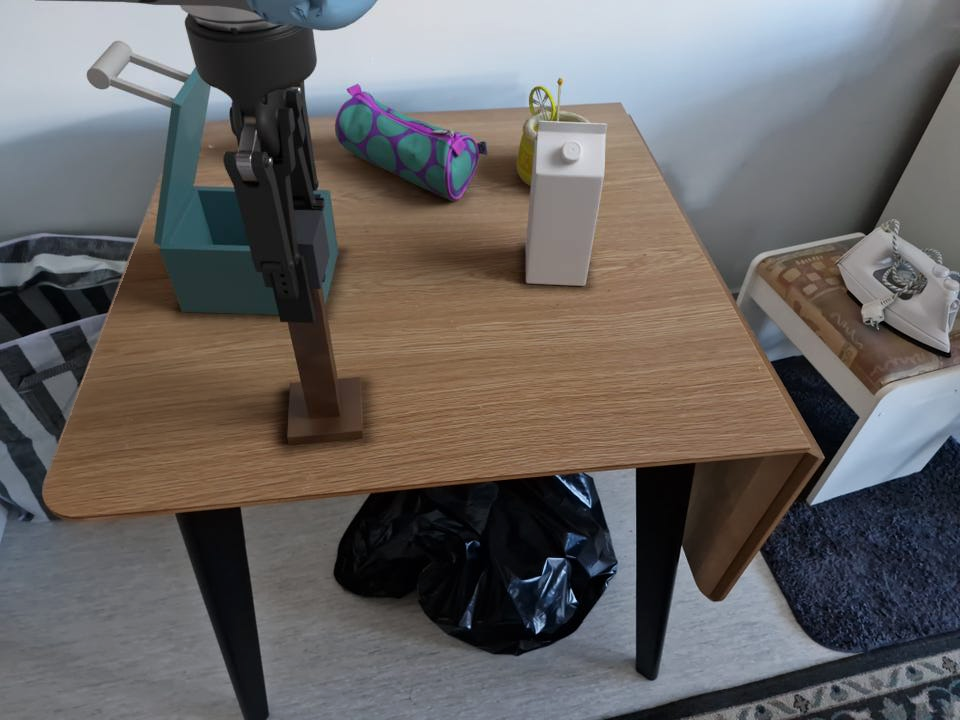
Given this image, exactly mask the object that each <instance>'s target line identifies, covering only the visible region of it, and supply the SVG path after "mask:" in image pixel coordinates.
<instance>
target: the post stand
mask: <svg viewBox="0 0 960 720" xmlns="http://www.w3.org/2000/svg"><path fill="white" fill-rule="evenodd" d="M310 290H311V295H312V301H313V306H314V311H315V321H314V323H300V322H286V323H287V327H288V331H289V335H290V341H291V344H292V345H291V346H292V350H293V353H294V358H295V362H296V367H297V371H298V375H299V379H300V381H298V382H297V381H296V382H290V383H289V392H288V393H289V394H288V395H289V396H288V413H287V414H288V415H287V431H286V439H287V442H288V445H289V446H292V445H302V444H304V445H305V444H315V443H323V442H336V441H346V440H357V439H363V438H364V420H363V395H362V394H363V393H362V392H363V391H362V380H361V376H356V377H344V378H343V377H342V378H339V377H338V371H337V365H336V359H335V352H334V347H333V343H332V336H331V330H330V324H329V320H328V313H327V312H328V311H327V306H326V305H325V300H324V294H323V288H322V287H321V289H310Z"/></svg>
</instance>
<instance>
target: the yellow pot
mask: <svg viewBox="0 0 960 720" xmlns="http://www.w3.org/2000/svg"><path fill="white" fill-rule="evenodd" d="M556 82H557V85H558V90H557V91H558V92H557V107H556V102H555V100H554V98H553V95H552V93H551V92H550V91H549V90H548V89H547V87H545V86H542V85H537V86H534V87H533V88H532V89H531V90H530V92H529V95H528V106H529V110H530V112H531V115H532V116H531V117H529V118H527V119H526V121H525V122H523V124H522V135H521V139H520V142H519V148H518V152H517V157H516V170H517V173H518V176H519V177H520V179H521V180H522V181H523V183H525V184H526V185H527V186H529V187H531V180H532V169H533V157H534V146H535V138H536V134H537V131H538V122H539V121H559V122H582V123H591V122H590V121H589V119H588V118H586V117H584V116H582V115H579V114H577V113H574V112H570V111H565V110H561V109H560V107H561V92H562V85H563V83H564V80H563V78H562V77H559V78H558V79H557V81H556ZM541 91H543V92H544V97H543V99H542V94H541ZM534 94H536V96H537V100H536V99H535V98H534ZM548 99H549V103H550V106H548V105H545V103H546V102H547V100H548ZM540 101H541V102H540ZM534 105H537V106H539V108H538V109H537V110H536V111H535V108H534ZM543 110H544V111H543Z"/></svg>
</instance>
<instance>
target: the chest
mask: <svg viewBox="0 0 960 720" xmlns="http://www.w3.org/2000/svg"><path fill="white" fill-rule="evenodd" d="M313 193H314V197H321V198H324V210H323V214H324V221H325V227H326V234H327V240H328V247H329V253H330V256H329V260H328V264H327V267H326V271H325V275H326V278H325V282H323V283H322V288H323V294H324V300H325V306H326V304H327V301H328V296H329V293H330V288H331V284H332V281H333V276H334V273H335V269H336V265H337V264H336V263H337V259H338V256H339V253H340V252H339V251H340V250H339V245H338V239H337V238H338V237H337V232H336V224H335V217H334V210H333V203H332V196H331V190H329V189H317V191H313ZM158 250H159V253H160V255H161V258H162V261H163V264H164V266H165V269H166V272H167V274H168V275H167V276H168V277H169V280H170V282H171V285H172V288H173V291H174V293H175V296H176V299H177V302H178V305H179V308H180V311H181V312H182V313H200V314H201V313H204V314H207V313H208V314H233V315H234V314H236V315H238V314H240V315H267V316H268V315H271V316H272V315H273V316H279V313H278V309H277V305H276V300H275V296H274V292H273V288H270V287H265V283H264V279H263V275H262V272H256V270H255V267H254V263H253V261H252V255H251V251H250V247H249V243H248V239H247V236H246V232H245V228H244V224H243V220H242V216H241V212H240V209H239V205H238V201H237V197H236V193H235V189H234V186H210V185H209V186H204V185H193V187H192V189H191V191H190V193H189V195H188V196H187V198H186V200H185V202H184V204H183V206H182V208H181V210H180V211H179V213H178V215H177V217H176V219H175V221H174V223H173V225H172V227H171V228H170V230H169V232H168V234H167V236H166V238H165V240H164V242H163V243H162V245H159V246H158Z"/></svg>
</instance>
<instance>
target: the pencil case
mask: <svg viewBox="0 0 960 720" xmlns="http://www.w3.org/2000/svg"><path fill="white" fill-rule="evenodd" d="M361 87H362V86H361V85H360V84H359V83H356V84H354V85H352V86H350V87H347V88H346V92H347V93H348V94H349V95H350V96H351V98H349V99H348V100H346V101H345V102H344V103H343V104H342V105H341V106H340V108H339V110H338V112H337V115H336V118H335V123H334V132H335V136H336V139H337V141H338V143H339V144H340V145H341V147H343V148H344V149H345V150H346V151H348V152H349V153H351V154H352V155H353V156H355V157H357V158H360V159H362V160H364V161H366V162H368V163H370V164H372V165H374V166H376V167H379V168H381V169H383V170H385V171H387V172H390V173H391V174H393V175H396V176H398V177H399V178H401V179H404V180H405V181H407V182H408V183H409V182H410V183H411V184H413V185H415V186H418V187H420V188H422V189H424V190H427V191H429V192H431V193H434V194H436V195H438V196H440V197H442V198H445V199H448V200H449V201H451V202H456V201H459V200H460V199H461V198H462V197H463V195H464V194H465V192H466V190H467V188H468V187H469V186H470V184H471V182H472V180H473V178H474V176H475V173H476V171H477V167H478V165H479V160H480V155H483V156H488V148H487V142H486V141H484V140H483V141H479V142H477V141H476V139H475V138H474V137H473V136H472V135H470V134H468V133H465V132H462V131H461V132H460V131H455V130H452V129H446V128H443V127H441V126H438V125H432V124H430V123H429V122H427V121H423V120H420V119H416V118H414V117H410V116H408V115H407V114H406V115H405V114H402V113H401V112H399V111H397V110H394V109H392V108H391V107H388V106H387V105H385V104H383V103H381V101H378V100H377V99H375V97H374V96H373V95H372V94H370V93H369V92H367V91H362V88H361Z"/></svg>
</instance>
